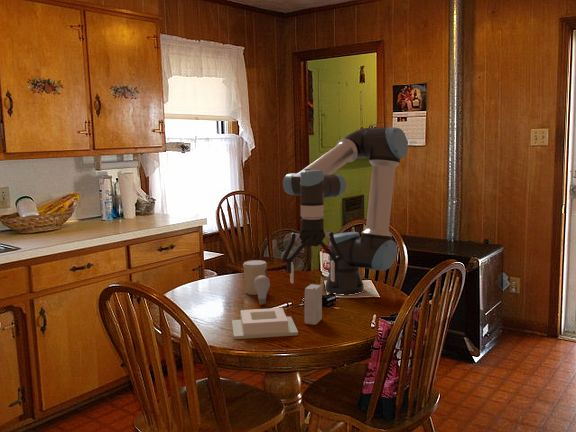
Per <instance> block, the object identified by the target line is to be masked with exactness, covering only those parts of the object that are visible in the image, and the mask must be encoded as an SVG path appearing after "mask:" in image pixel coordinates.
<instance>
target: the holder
mask: <svg viewBox="0 0 576 432" xmlns="http://www.w3.org/2000/svg"><path fill="white" fill-rule="evenodd" d="M231 329H232V336H233V340H243V339H259V338H260V339H261V338H276V337H289V336H290V337H291V336H292V337H293V336H299V331H298V328H297V327H296V323H295V322H294V319H293V318H292V316H287V315H286V312H285V311H284V308H283V307H274V308H271V307H270V308H258V309H257V308H256V309H255V308H254V309H241V310H240V319H231Z"/></svg>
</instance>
